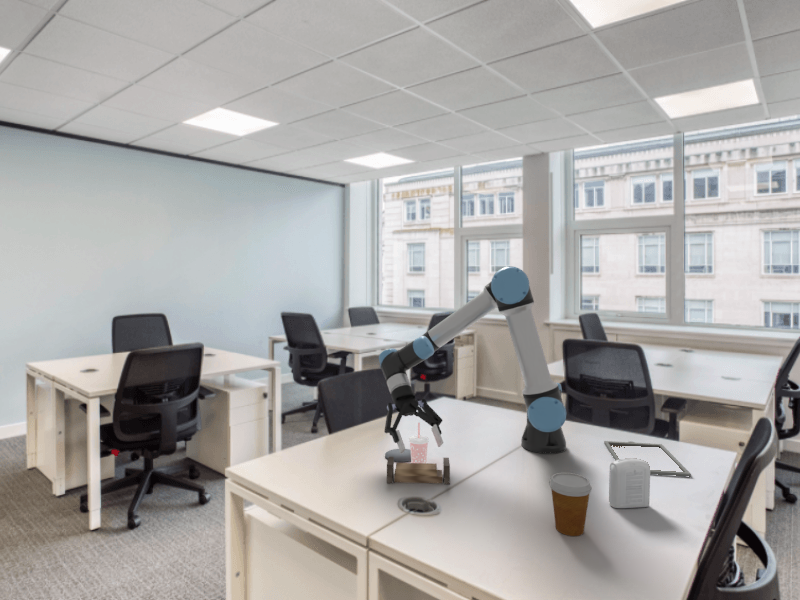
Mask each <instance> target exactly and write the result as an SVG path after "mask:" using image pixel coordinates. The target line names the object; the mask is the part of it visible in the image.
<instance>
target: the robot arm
mask: <svg viewBox="0 0 800 600" xmlns="http://www.w3.org/2000/svg"><path fill="white" fill-rule="evenodd" d="M534 303H535V300H534V297H533V294H532V289H531V286H530V280H529V277H528V275H527V274H526V273H525V272H524V270H522V269H521V268H519V267H516V266H504V267H503V268H499V270H497V271H496V272H495V273H494V275H493V276H492V278H491V281H490V282H488V283H487V284H486V285H484V286H483V291H481V292H480V293H478V294H477V295H476V296H475V297H474V296H473V298H472V299H470V300H469V301H467V302H466V303H465V304H463V305H462V306H460V307H459V308H458V309H457V310H455V311H454V312H453V313H451V314H450V315H448V316H447V317H446V318H444V319H443V320H441V321H440V322H438V323H437V324H435V326H433V327H431V329H429V330H428V331H426V332H425V333H423V334H422V335H421V336H419V337H417V338H416V339H414V340H412V341H411V342H409V343H408V344H406V345H405V346H403V347H402V348H400V349H398V350H397V349H396V348H388V349H385V350H383V351H381V353H380V354H379V355H378V361H379V365H380V370H381V371H382V374H383V377H384V378H385V379H384V380H385V382H386V385H387V388H388V391H389V393H390V397H391V399H392V402H388V404H387V406H386V408H385V409H386V412H387V413H386V420H385V426H384V433H385V434H389V435H390V436H391V437H392V440H393V443H395V444H397V448H398V449H399V450H400V453H403V452H404V451H405V449H406V446H405V443H404V440H403V437H402V435H401V432H400V429H398V427H399V424H400V422H401V420H402V417H408V416H412V417H413V416H415V417H418V418H420V420H422V421H424V422H425V423H427V424H428V425H429V426H431V432H432V435H433V437H434V440H435V442H436V445H437V447H438V448H441V447H442V445H443V444H444V440H443V438H442V436H441V435H442V434H443V432H442V430H441V428H440V425H441V424H442V423H443V418H441V416H440V415H439V414H438V413H437V412H435V410H434V409H433V408H432V407H431V406H430V405H429V404H428V402H427V400H426V399H425V398H422V399H421V400H417V398H416V394H415V391H414V390H413V387H412V385H411V384H412V383H411V382H410V379H409V376H408V374H407V371H408V370H410V369H411V368H414V367H416V366H417V365H418V364H420V363H422V362H423V361H425V360H428V359H429V358H430V357H432V356H433V355H434V353H435V352H436V351H438V350H439V349H440V348H441V347H443V346H445V345H446V344H447V343H448V342H450V341H452V340H453V339H455V337H458V336H459V335H460V334H461V333H463V332H464V331H465V330H466V331H467V329H468V328H470V327H472V326H473V325H474V324H476V323H477V322H479V321H480V320H481V319H483V318H484V317H485V316H487V315H489V313H491V312H493V311H494V310H495V309H498V312H499V313H500V314H502V315H503V316H504V317H505V320H506V324H507V327H508V331H509V335H510V339H511V341H512V345H513V348H514V352H515V356H516V358H517V363H518V366H519V370H520V373H521V377H522V380H523V383H524V388H523V389H522V391H521V393H522V397H523V399H524V404H525V409H526V425H525V427H524V430H523V432H522V436H521V446H522V448H523V449H525V450H528V451H530V452H533V453H539V454H548V455H549V454H550V455H551V454H552V455H554V454H560V453H563V452H565V451H566V450H567V441H566V437H565V434H564V431H563V429H562V426H563V425H564V424H565V422H566V420H567V410H566V407H565V405H564V401H563V398H562V392H563V389H562V384H561V383H559V382H555V381H554V380H552V378H551V377H552V376H551V374H550V370H549V366H548V363H547V361H546V356H545V353H544V349H543V346H542V342H541V339H540V336H539V331H538V329H537V326H536V321H535V319H534V314H533V311H532V307H533V305H534ZM394 410H395V411H396V412H398V414H397V416H396V419H395V420H394V423H393V425H392V418H393V414H394V413H393V412H394ZM391 425H392V427H391Z"/></svg>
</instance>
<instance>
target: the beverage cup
mask: <svg viewBox="0 0 800 600" xmlns="http://www.w3.org/2000/svg"><path fill="white" fill-rule="evenodd" d="M420 425H421V424H420V422H417V435H412V436H410V437H409V438H408V439H409V441H408V442H409V443H410V444H409V445H410V448H409V449H410V450H411V461H410V463H427V457H428V443H429V437H427V436H425V435H420V430H421V428H420V427H421V426H420Z"/></svg>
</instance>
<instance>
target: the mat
mask: <svg viewBox="0 0 800 600" xmlns="http://www.w3.org/2000/svg"><path fill="white" fill-rule="evenodd" d="M384 457H385V459H386V458H387V460H388V457H394V463H395V462H396V463H410V462H411V449H410V448H405V451H404V452H403V453H400V450H399V448H393V449H389V450H387V451H386V452H385V453H384Z"/></svg>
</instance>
